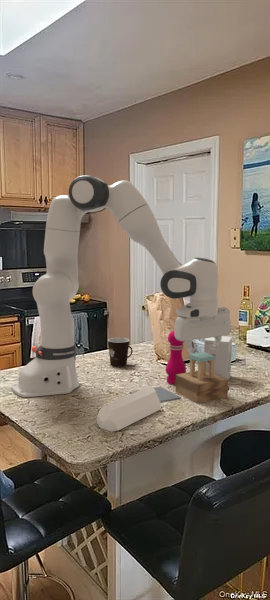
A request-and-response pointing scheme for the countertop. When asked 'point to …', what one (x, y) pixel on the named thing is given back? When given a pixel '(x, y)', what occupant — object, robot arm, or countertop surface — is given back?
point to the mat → (163, 394)
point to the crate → (201, 387)
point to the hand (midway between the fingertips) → (203, 351)
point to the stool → (202, 364)
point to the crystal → (128, 409)
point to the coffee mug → (118, 351)
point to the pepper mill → (175, 359)
